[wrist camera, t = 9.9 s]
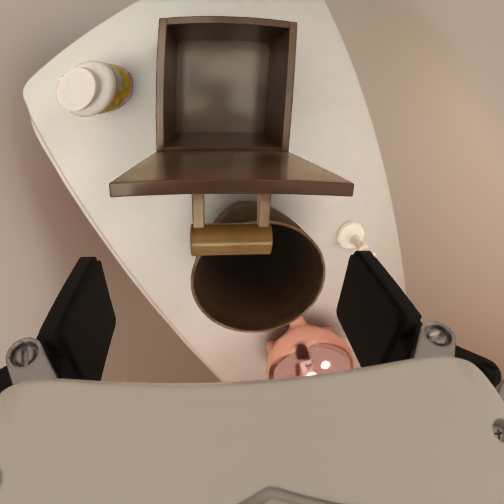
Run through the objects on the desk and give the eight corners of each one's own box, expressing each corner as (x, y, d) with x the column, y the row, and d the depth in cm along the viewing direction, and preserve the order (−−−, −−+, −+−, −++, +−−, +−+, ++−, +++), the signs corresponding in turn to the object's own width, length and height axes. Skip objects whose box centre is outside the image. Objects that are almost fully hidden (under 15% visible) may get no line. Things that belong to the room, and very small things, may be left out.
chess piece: (362, 218, 50) (391, 247, 41) (362, 243, 52) (389, 275, 44) (336, 224, 50) (361, 255, 41) (337, 249, 52) (360, 283, 43)
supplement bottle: (95, 116, 36) (54, 129, 25) (86, 74, 33) (42, 73, 22) (138, 102, 36) (109, 108, 25) (129, 59, 33) (98, 49, 22)
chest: (173, 37, 32) (159, 18, 22) (274, 39, 34) (297, 22, 24) (170, 137, 40) (156, 154, 29) (268, 138, 41) (288, 155, 31)
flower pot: (203, 270, 51) (203, 340, 37) (188, 183, 43) (178, 231, 29) (292, 258, 52) (321, 322, 38) (291, 171, 44) (328, 213, 30)
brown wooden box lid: (108, 183, 15) (119, 271, 17) (354, 183, 17) (342, 266, 19) (155, 152, 29) (157, 202, 31) (289, 152, 31) (286, 201, 33)
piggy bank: (310, 370, 68) (329, 426, 54) (246, 349, 61) (256, 415, 48) (355, 326, 62) (384, 383, 49) (291, 297, 56) (315, 364, 42)
